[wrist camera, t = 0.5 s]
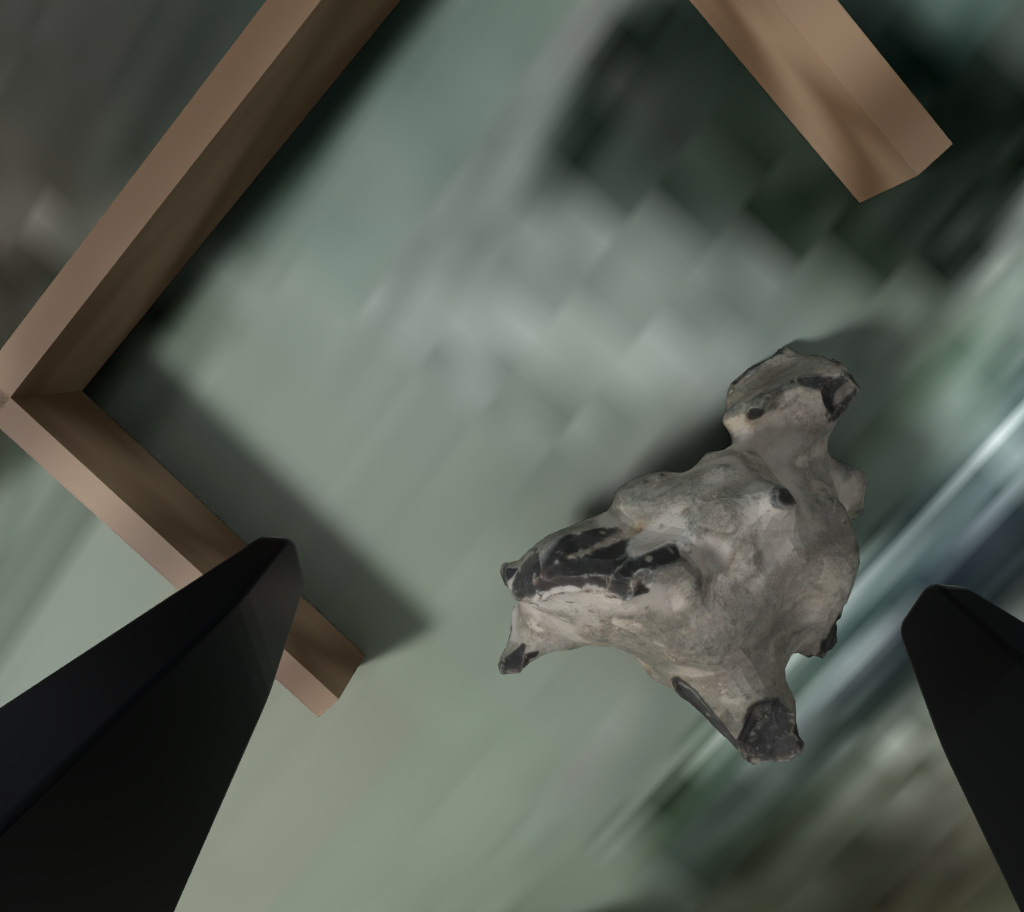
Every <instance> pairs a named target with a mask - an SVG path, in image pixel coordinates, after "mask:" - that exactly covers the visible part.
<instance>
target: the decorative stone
mask: <svg viewBox="0 0 1024 912" xmlns="http://www.w3.org/2000/svg"><path fill="white" fill-rule="evenodd" d="M859 391H860V387H859V386H858V385H857V383H856V382H855V381H854V379H853V377H852V375H851V374H850V373H849V371H848V369H847V368H846V366H845V365H844V364H843V363H841V362H839V361H836V360H834V359H832V360H829V359H827V358H825V357H823V356H818V355H800V354H798V353H796V352H794V351H793V350H791V349H790V348H787V347H785V348H782V349H780V350H778V351H777V352H776V353H775V354H774V355H773V356H772V357H771V358H770V359H768V360H766V361H765V362H763V363H761V364H760V365H757V366H754V367H751V368H748V369H747V370H746V371H745V372H744V373H743V374H742V375H741V376H740V377H738V378H737V379H736V380H735V381H734V382H732V383H731V384H730V387H729V389H728V393H727V398H726V407H727V412H726V413H725V414H724V416H723V418H722V421H723V425H724V426H725V427H726V428H727V430H728V432H729V434H730V436H731V439H732V445H731V446H729V447H728V448H726V449H725V450H720V451H715V452H708V453H706V454H705V456H704V457H703V458H702V459H701V460H700V461H699V462H698V463H697V464H696V465H695V466H694V467H693V468H692V469H690V470H688V471H686V472H684V473H674V472H668V471H659V472H654V473H650V474H645V475H641V476H639V477H637V478H635V479H633V480H630V481H628V482H627V483H625V484H624V485H623V486H621V487H620V489H619V490H618V491H617V492H616V495H615V498H614V500H613V503H612V505H611V507H610V508H609V509H608V511H606V512H604V513H602V514H600V515H597V516H594V517H590V518H587V519H585V520H583V521H581V522H579V523H576V524H574V525H572V526H570V527H567V528H564V529H562V530H559V531H557V532H555V533H552V534H550V535H548V536H546V537H545V538H544V539H542V540H541V541H539V542H538V543H537V544H535V545H534V547H533V548H531V549H530V550H529V551H528V552H527V553H526V554H525V555H524V556H523V557H522V558H521V559H520V560H518V561H514V562H511V563H503V564H502V565H501V569H500V573H501V576H502V579H503V581H504V583H505V585H506V586H507V587H508V588H509V589H510V590H511V591H512V596H513V598H514V599H515V600H517V603H516V604H515V606H514V609H513V612H512V620H511V633H510V636H509V640H508V643H507V645H506V648H505V650H504V652H503V653H502V655H501V657H500V660H499V663H498V667H499V671H500V673H501V674H503V675H504V674H514V673H520V672H521V671H522V669H523V668H525V667H526V666H527V665H528V664H529V663H530V662H531V661H533V660H535V659H536V658H538V657H540V656H542V655H544V654H547V653H550V652H553V651H561V650H572V649H575V648H578V647H582V646H585V645H587V646H609V647H615V648H618V649H621V650H623V651H625V652H628V653H630V654H633V655H634V656H635V657H636V658H637V659H638V660H639V661H640V662H641V663H642V665H643V667H644V668H645V670H646V672H647V673H648V675H649V676H650V677H651V678H653V679H654V680H656V681H658V682H659V683H661V684H663V685H666V686H668V687H669V688H671V689H672V690H674V691H675V692H676V693H677V694H678V695H679V696H680V697H682V698H683V699H685V700H686V701H688V702H689V703H691V704H692V705H693V706H694V707H695V708H696V709H697V710H699V711H700V712H701V713H702V714H703V715H704V716H705V717H706V718H707V719H708V720H709V722H710V723H711V724H712V725H713V726H714V727H715V728H716V729H717V730H718V731H719V732H720V733H721V734H722V735H723V736H724V737H726V738H727V739H728V740H729V741H730V742H731V743H732V744H733V746H734V747H735V748H736V749H737V750H738V751H739V752H740V753H741V754H742V756H743V758H744V760H746V761H748V762H749V763H751V764H753V765H754V764H757V763H760V762H764V761H772V762H781V761H789V760H791V759H792V758H794V757H796V756H798V755H800V754H801V753H802V752H803V751H804V742H803V740H802V739H801V738H800V737H799V734H798V729H797V724H796V707H795V699H794V697H793V695H792V692H791V690H790V688H789V686H788V684H787V682H786V679H785V668H786V665H787V663H788V661H789V659H790V656H791V655H792V654H793V653H800V654H802V655H804V656H806V657H812V656H818V657H821V658H824V657H825V656H826V653H827V652H828V651H829V650H831V649H832V648H833V647H834V646H835V644H836V643H837V637H836V634H837V625H836V622H837V621H838V620H839V619H840V618H841V615H842V611H843V607H844V605H845V604H846V603H847V601H848V598H849V596H850V593H851V590H852V588H853V585H854V581H855V578H856V574H857V571H858V568H859V564H860V561H859V547H858V543H857V540H856V537H855V533H854V530H853V527H852V525H851V522H850V520H852V519H854V518H856V517H858V516H861V515H862V513H863V512H864V495H865V492H866V489H867V486H868V480H867V476H866V475H865V474H864V473H863V472H862V471H860V470H859V469H857V468H854V467H851V466H848V465H845V464H842V463H840V462H837V461H836V460H834V459H833V458H832V457H831V456H830V455H829V454H828V439H829V436H830V434H831V432H832V431H833V429H834V427H835V425H836V423H837V421H838V420H839V418H840V417H841V416H842V414H843V413H844V412H845V410H846V409H847V408H848V407H849V405H850V404H851V403H852V401H853V400H854V399H855V397H856V396H857V394H858V393H859Z"/></svg>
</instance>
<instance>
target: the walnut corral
mask: <svg viewBox="0 0 1024 912" xmlns="http://www.w3.org/2000/svg"><path fill="white" fill-rule="evenodd" d="M400 1H401V0H267V1H266V2H265V3H264V4H263V6H262V7H261V8H260V10H259V11H258V12H257V14H256V15H255V16H254V18H253V19H252V20H251V22H250V23H249V24H248V26H247V27H246V28H245V29H244V31H243V32H242V33H241V35H240V36H239V37H238V39H237V40H236V41H235V43H234V44H233V45H232V47H231V48H230V49H229V50H228V52H227V53H226V54H225V56H224V57H223V58H222V60H221V61H220V62H219V64H218V65H217V66H216V68H215V69H214V70H213V72H212V73H211V74H210V75H209V77H208V78H207V79H206V81H205V82H204V83H203V85H202V86H201V87H200V89H199V90H198V91H197V93H196V94H195V95H194V97H193V98H192V99H191V100H190V102H189V103H188V104H187V106H186V107H185V108H184V110H183V111H182V112H181V114H180V115H179V116H178V118H177V119H176V120H175V121H174V123H173V124H172V125H171V127H170V128H169V129H168V131H167V132H166V133H165V135H164V136H163V137H162V139H161V140H160V141H159V143H158V144H157V145H156V146H155V148H154V149H153V150H152V152H151V153H150V154H149V156H148V157H147V158H146V160H145V161H144V162H143V164H142V165H141V166H140V167H139V169H138V170H137V171H136V173H135V174H134V175H133V177H132V178H131V179H130V181H129V182H128V183H127V185H126V186H125V187H124V189H123V190H122V191H121V192H120V194H119V195H118V196H117V198H116V199H115V200H114V202H113V203H112V204H111V206H110V207H109V208H108V210H107V211H106V212H105V214H104V215H103V216H102V217H101V219H100V220H99V221H98V223H97V224H96V225H95V227H94V228H93V229H92V231H91V232H90V233H89V235H88V236H87V237H86V238H85V240H84V241H83V242H82V244H81V245H80V246H79V248H78V249H77V250H76V252H75V253H74V254H73V256H72V257H71V258H70V260H69V261H68V262H67V263H66V265H65V266H64V267H63V269H62V270H61V271H60V273H59V274H58V275H57V277H56V278H55V279H54V281H53V282H52V283H51V285H50V286H49V287H48V288H47V290H46V291H45V292H44V294H43V295H42V296H41V298H40V299H39V300H38V302H37V303H36V304H35V306H34V307H33V308H32V309H31V311H30V312H29V313H28V315H27V316H26V317H25V319H24V320H23V321H22V323H21V324H20V325H19V327H18V328H17V329H16V331H15V332H14V333H13V334H12V336H11V337H10V338H9V340H8V341H7V342H6V344H5V345H4V346H3V348H2V349H1V350H0V429H2V430H3V431H4V432H5V433H6V434H7V435H8V436H9V437H10V438H11V439H13V440H14V441H15V442H16V443H17V444H18V445H19V446H20V447H21V448H22V449H24V450H25V451H26V452H27V453H28V454H29V455H30V456H31V457H32V458H33V459H35V460H36V461H37V462H38V463H39V464H40V465H41V466H42V467H43V468H44V469H46V470H47V471H48V472H49V473H50V474H51V475H52V476H53V477H54V478H55V479H57V480H58V481H59V482H60V483H61V484H62V485H63V486H64V487H65V488H66V489H68V490H69V491H70V492H71V493H72V494H73V495H74V496H75V497H76V498H77V499H79V500H80V501H81V502H82V503H83V504H84V505H85V506H86V507H87V508H88V509H90V510H91V511H92V512H93V513H94V514H95V515H96V516H97V517H98V518H99V519H101V520H102V521H103V522H104V523H105V524H106V525H107V526H108V527H109V528H110V529H112V530H113V531H114V532H115V533H116V534H117V535H118V536H119V537H120V538H121V539H123V540H124V541H125V542H126V543H127V544H128V545H129V546H130V547H131V548H132V549H134V550H135V551H136V552H137V553H138V554H139V555H140V556H141V557H142V558H143V559H145V560H146V561H147V562H148V563H149V564H150V565H151V566H152V567H153V568H154V569H156V570H157V571H158V572H159V573H160V574H161V575H162V576H163V577H164V578H165V579H167V580H168V581H169V582H170V583H171V584H172V585H173V586H174V587H175V588H176V589H178V590H180V589H182V588H183V587H185V586H187V585H188V584H190V583H191V582H193V581H194V580H196V579H197V578H199V577H200V576H202V575H203V574H205V573H206V572H208V571H209V570H211V569H212V568H214V567H215V566H217V565H218V564H220V563H222V562H223V561H225V560H226V559H228V558H229V557H231V556H232V555H234V554H235V553H237V552H238V551H240V550H241V549H243V548H244V547H246V546H247V545H246V544H245V543H244V542H243V541H242V540H241V539H240V538H239V537H238V536H237V535H236V534H235V533H234V532H232V531H231V530H230V529H229V528H228V527H227V526H226V525H225V524H224V523H223V522H222V521H221V520H220V519H219V518H217V517H216V516H215V515H214V514H213V513H212V512H211V511H210V510H209V509H208V508H207V507H206V506H205V505H204V504H202V503H201V502H200V501H199V500H198V499H197V498H196V497H195V496H194V495H193V494H192V493H191V492H190V491H189V490H188V489H186V488H185V487H184V486H183V485H182V484H181V483H180V482H179V481H178V480H177V479H176V478H175V477H174V476H173V475H171V474H170V473H169V472H168V471H167V470H166V469H165V468H164V467H163V466H162V465H161V464H160V463H159V462H158V461H156V460H155V459H154V458H153V457H152V456H151V455H150V454H149V453H148V452H147V451H146V450H145V449H144V448H143V447H142V446H140V445H139V444H138V443H137V442H136V441H135V440H134V439H133V438H132V437H131V436H130V435H129V434H128V433H127V432H125V431H124V430H123V429H122V428H121V427H120V426H119V425H118V424H117V423H116V422H115V421H114V420H113V419H112V418H110V417H109V416H108V415H107V414H106V413H105V412H104V411H103V410H102V409H101V408H100V407H99V406H98V405H97V404H96V403H94V402H93V401H92V400H91V399H90V398H89V397H88V396H87V395H86V394H85V393H84V392H83V389H84V388H85V387H86V386H87V384H88V383H89V382H90V381H91V380H92V378H93V377H94V376H95V375H96V373H97V372H98V371H99V370H100V368H101V367H102V366H103V365H104V364H105V362H106V361H107V360H108V359H109V357H110V356H111V355H112V354H113V353H114V351H115V350H116V349H117V348H118V346H119V345H120V344H121V343H122V341H123V340H124V339H125V338H126V337H127V335H128V334H129V333H130V332H131V330H132V329H133V328H134V327H135V326H136V324H137V323H138V322H139V321H140V319H141V318H142V317H143V316H144V315H145V313H146V312H147V311H148V310H149V308H150V307H151V306H152V305H153V303H154V302H155V301H156V300H157V299H158V297H159V296H160V295H161V294H162V292H163V291H164V290H165V289H166V288H167V286H168V285H169V284H170V283H171V281H172V280H173V279H174V278H175V276H176V275H177V274H178V273H179V272H180V270H181V269H182V268H183V267H184V265H185V264H186V263H187V262H188V261H189V259H190V258H191V257H192V256H193V254H194V253H195V252H196V251H197V250H198V248H199V247H200V246H201V245H202V243H203V242H204V241H205V240H206V238H207V237H208V236H209V235H210V234H211V232H212V231H213V230H214V229H215V227H216V226H217V225H218V224H219V223H220V221H221V220H222V219H223V218H224V216H225V215H226V214H227V213H228V211H229V210H230V209H231V208H232V207H233V205H234V204H235V203H236V202H237V200H238V199H239V198H240V197H241V196H242V194H243V193H244V192H245V191H246V189H247V188H248V187H249V186H250V185H251V183H252V182H253V181H254V180H255V178H256V177H257V176H258V175H259V173H260V172H261V171H262V170H263V169H264V167H265V166H266V165H267V164H268V162H269V161H270V160H271V159H272V158H273V156H274V155H275V154H276V153H277V151H278V150H279V149H280V148H281V146H282V145H283V144H284V143H285V142H286V140H287V139H288V138H289V137H290V135H291V134H292V133H293V132H294V131H295V129H296V128H297V127H298V126H299V124H300V123H301V122H302V121H303V120H304V118H305V117H306V116H307V115H308V113H309V112H310V111H311V110H312V108H313V107H314V106H315V105H316V104H317V102H318V101H319V100H320V99H321V97H322V96H323V95H324V94H325V93H326V91H327V90H328V89H329V88H330V86H331V85H332V84H333V83H334V81H335V80H336V79H337V78H338V77H339V75H340V74H341V73H342V72H343V70H344V69H345V68H346V67H347V66H348V64H349V63H350V62H351V61H352V59H353V58H354V57H355V56H356V55H357V53H358V52H359V51H360V50H361V48H362V47H363V46H364V45H365V43H366V42H367V41H368V40H369V39H370V37H371V36H372V35H373V34H374V32H375V31H376V30H377V29H378V28H379V26H380V25H381V24H382V23H383V21H384V20H385V19H386V18H387V16H388V15H389V14H390V13H391V12H392V10H393V9H394V8H395V7H396V5H397V4H398V3H399V2H400ZM690 1H691V3H692V4H693V5H694V6H695V7H696V9H697V10H698V11H699V12H700V13H701V14H702V16H703V17H704V18H705V19H706V20H707V22H708V23H709V24H710V25H711V26H712V28H713V29H714V30H715V31H716V32H717V34H718V35H719V36H720V37H721V38H722V40H723V41H724V42H725V43H726V44H727V45H728V47H729V48H730V49H731V50H732V51H733V53H734V54H735V55H736V56H737V57H738V59H739V60H740V61H741V62H742V63H743V65H744V66H745V67H746V68H747V69H748V71H749V72H750V73H751V74H752V75H753V76H754V78H755V79H756V80H757V81H758V82H759V84H760V85H761V86H762V87H763V88H764V90H765V91H766V92H767V93H768V94H769V96H770V97H771V98H772V99H773V100H774V102H775V103H776V104H777V105H778V106H779V107H780V109H781V110H782V111H783V112H784V113H785V115H786V116H787V117H788V118H789V119H790V121H791V122H792V123H793V124H794V125H795V127H796V128H797V129H798V130H799V131H800V133H801V134H802V135H803V136H804V137H805V138H806V140H807V141H808V142H809V143H810V144H811V146H812V147H813V148H814V149H815V150H816V152H817V153H818V154H819V155H820V156H821V158H822V159H823V160H824V161H825V162H826V164H827V165H828V166H829V167H830V168H831V169H832V171H833V172H834V173H835V174H836V175H837V177H838V178H839V179H840V180H841V181H842V183H843V184H844V185H845V186H846V187H847V189H848V190H849V191H850V192H851V193H852V195H853V196H854V197H855V198H856V199H857V200H858V202H859V203H860V202H863V201H865V200H867V199H869V198H871V197H873V196H875V195H877V194H880V193H882V192H884V191H886V190H888V189H890V188H892V187H895V186H897V185H899V184H901V183H903V182H905V181H907V180H909V179H912V178H914V177H916V176H918V175H919V174H920V173H921V172H922V171H923V170H924V169H926V168H927V167H928V166H929V165H930V164H931V163H932V162H933V161H934V160H936V159H937V158H938V157H939V156H940V155H941V154H942V153H943V152H944V151H945V150H947V149H948V148H949V147H950V146H951V145H952V144H953V143H952V142H951V141H950V140H949V138H948V137H947V136H946V135H945V133H944V132H943V131H942V130H941V128H940V127H939V126H938V125H937V123H936V122H935V121H934V120H933V119H932V117H931V116H930V115H929V114H928V112H927V111H926V110H925V109H924V107H923V106H922V105H921V104H920V102H919V101H918V100H917V99H916V97H915V96H914V95H913V94H912V92H911V91H910V90H909V89H908V87H907V86H906V85H905V84H904V83H903V81H902V80H901V79H900V78H899V76H898V75H897V74H896V73H895V71H894V70H893V69H892V68H891V66H890V65H889V64H888V63H887V61H886V60H885V59H884V58H883V56H882V55H881V54H880V53H879V51H878V50H877V49H876V48H875V47H874V45H873V44H872V43H871V42H870V40H869V39H868V38H867V37H866V35H865V34H864V33H863V32H862V30H861V29H860V28H859V27H858V25H857V24H856V23H855V22H854V20H853V19H852V18H851V17H850V15H849V14H848V13H847V12H846V11H845V9H844V8H843V7H842V6H841V4H840V3H839V2H838V1H837V0H690ZM364 656H365V655H364V654H363V653H362V652H361V651H360V650H359V649H358V648H357V647H355V646H354V645H353V644H352V643H351V642H350V641H349V640H348V639H347V638H346V637H345V636H344V635H343V634H342V633H340V632H339V631H338V630H337V629H336V628H335V627H334V626H333V625H332V624H331V623H330V622H329V621H328V620H327V619H326V618H324V617H323V616H322V615H321V614H320V613H319V612H318V611H317V610H316V609H315V608H314V607H313V606H312V605H311V604H309V603H308V602H307V601H306V600H305V599H304V598H303V597H302V596H301V598H300V601H299V604H298V607H297V611H296V614H295V617H294V620H293V623H292V626H291V629H290V633H289V636H288V639H287V642H286V645H285V648H284V651H283V655H282V658H281V661H280V664H279V667H278V670H277V673H276V677H275V679H277V680H278V681H279V682H280V683H281V684H282V685H283V686H284V687H285V688H286V689H288V690H289V691H290V692H291V693H292V694H293V695H294V696H295V697H296V698H297V699H299V700H300V701H301V702H302V703H303V704H304V705H305V706H306V707H307V708H308V709H310V710H311V711H312V712H313V713H314V714H315V715H316V716H317V717H319V716H321V715H322V714H323V713H324V712H325V711H326V710H327V709H328V708H329V707H330V706H332V705H333V704H334V703H335V702H336V701H337V700H338V699H339V698H340V696H341V694H342V693H343V691H344V689H345V688H346V686H347V684H348V683H349V681H350V679H351V678H352V676H353V674H354V673H355V671H356V669H357V668H358V666H359V664H360V663H361V661H362V659H363V658H364Z"/></svg>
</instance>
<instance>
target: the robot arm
mask: <svg viewBox="0 0 1024 912" xmlns="http://www.w3.org/2000/svg"><path fill="white" fill-rule="evenodd" d="M302 590H303V575H302V571H301V567H300V562H299V558H298V554H297V550H296V546H295V543H294V542H293V540H292V539H290V538H288V537H276V536H263V537H260V538H258V539H256V540H255V541H253V542H252V543H250V544H249V545H247V546H246V547H244V548H243V549H241V550H240V551H238V552H237V553H235V554H234V555H232V556H231V557H229V558H228V559H226V560H225V561H223V562H222V563H220V564H218V565H217V566H215V567H214V568H212V569H211V570H209V571H208V572H206V573H205V574H203V575H202V576H200V577H199V578H197V579H196V580H194V581H193V582H191V583H190V584H188V585H187V586H185V587H183V588H182V589H180V590H179V591H177V592H176V593H174V594H173V595H171V596H170V597H168V598H167V599H165V600H164V601H162V602H161V603H159V604H158V605H156V606H155V607H153V608H152V609H150V610H148V611H147V612H145V613H144V614H142V615H141V616H139V617H138V618H136V619H135V620H133V621H132V622H130V623H129V624H127V625H126V626H124V627H123V628H121V629H120V630H118V631H117V632H115V633H113V634H112V635H110V636H109V637H107V638H106V639H104V640H103V641H101V642H100V643H98V644H97V645H95V646H94V647H92V648H91V649H89V650H88V651H86V652H85V653H83V654H82V655H80V656H78V657H77V658H75V659H74V660H72V661H71V662H69V663H68V664H66V665H65V666H63V667H62V668H60V669H59V670H57V671H56V672H54V673H53V674H51V675H50V676H48V677H47V678H45V679H43V680H42V681H40V682H39V683H37V684H36V685H34V686H33V687H31V688H30V689H28V690H27V691H25V692H24V693H22V694H21V695H19V696H18V697H16V698H15V699H13V700H12V701H10V702H8V703H7V704H5V705H4V706H2V707H1V708H0V912H174V910H175V908H176V906H177V903H178V901H179V899H180V897H181V894H182V892H183V890H184V888H185V885H186V883H187V881H188V879H189V876H190V874H191V872H192V869H193V867H194V865H195V863H196V860H197V858H198V856H199V854H200V851H201V849H202V847H203V845H204V842H205V840H206V838H207V835H208V833H209V831H210V829H211V826H212V824H213V822H214V820H215V817H216V815H217V813H218V811H219V808H220V806H221V804H222V801H223V799H224V797H225V795H226V792H227V790H228V788H229V786H230V783H231V781H232V779H233V777H234V774H235V772H236V770H237V767H238V765H239V763H240V761H241V758H242V756H243V754H244V752H245V749H246V747H247V745H248V743H249V740H250V738H251V736H252V733H253V731H254V729H255V727H256V724H257V722H258V720H259V718H260V715H261V713H262V711H263V708H264V706H265V704H266V701H267V699H268V696H269V694H270V691H271V688H272V685H273V682H274V679H275V677H276V673H277V670H278V667H279V664H280V661H281V658H282V655H283V651H284V648H285V645H286V642H287V639H288V636H289V633H290V629H291V626H292V623H293V620H294V617H295V614H296V611H297V607H298V604H299V601H300V598H301V595H302ZM901 635H902V640H903V643H904V646H905V648H906V651H907V654H908V657H909V659H910V662H911V665H912V668H913V670H914V673H915V676H916V678H917V681H918V684H919V687H920V689H921V692H922V695H923V697H924V700H925V703H926V706H927V708H928V711H929V714H930V717H931V719H932V722H933V725H934V727H935V730H936V732H937V735H938V738H939V740H940V743H941V745H942V747H943V750H944V752H945V754H946V756H947V759H948V761H949V763H950V765H951V767H952V769H953V771H954V774H955V776H956V778H957V780H958V782H959V784H960V786H961V788H962V790H963V792H964V794H965V797H966V799H967V801H968V803H969V805H970V807H971V809H972V811H973V813H974V815H975V817H976V819H977V822H978V824H979V826H980V828H981V830H982V832H983V834H984V836H985V838H986V840H987V842H988V845H989V847H990V849H991V851H992V853H993V855H994V857H995V859H996V861H997V863H998V865H999V867H1000V870H1001V872H1002V874H1003V876H1004V878H1005V880H1006V882H1007V884H1008V886H1009V888H1010V890H1011V893H1012V895H1013V897H1014V899H1015V901H1016V903H1017V905H1018V907H1019V909H1020V911H1021V912H1024V622H1022V621H1020V620H1019V619H1017V618H1015V617H1014V616H1012V615H1010V614H1009V613H1007V612H1006V611H1004V610H1002V609H1001V608H999V607H997V606H996V605H994V604H993V603H991V602H989V601H988V600H986V599H984V598H983V597H981V596H980V595H978V594H976V593H975V592H973V591H971V590H969V589H968V588H965V587H961V586H953V585H940V584H934V585H930V586H928V587H927V588H925V589H924V591H923V592H922V593H921V595H920V596H919V598H918V599H917V601H916V602H915V604H914V605H913V607H912V608H911V610H910V611H909V613H908V614H907V616H906V617H905V619H904V620H903V622H902V626H901Z"/></svg>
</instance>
